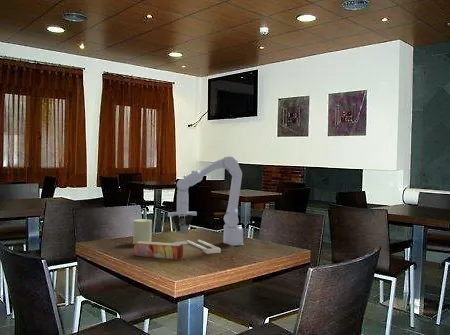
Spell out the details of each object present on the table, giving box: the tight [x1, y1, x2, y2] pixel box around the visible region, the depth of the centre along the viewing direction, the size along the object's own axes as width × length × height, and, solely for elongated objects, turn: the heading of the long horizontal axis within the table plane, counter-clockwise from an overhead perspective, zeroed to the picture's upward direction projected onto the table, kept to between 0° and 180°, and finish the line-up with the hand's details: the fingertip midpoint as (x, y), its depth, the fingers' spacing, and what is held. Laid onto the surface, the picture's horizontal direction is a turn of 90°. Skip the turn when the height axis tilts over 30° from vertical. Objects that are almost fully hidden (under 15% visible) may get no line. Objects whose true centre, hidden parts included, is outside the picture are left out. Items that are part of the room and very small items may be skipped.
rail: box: [186, 239, 222, 255], centre depth 203 cm, size 7×24×2 cm, turn 27°
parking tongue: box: [172, 240, 189, 245], centre depth 211 cm, size 7×7×1 cm
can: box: [132, 218, 153, 245], centre depth 212 cm, size 9×9×12 cm
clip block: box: [175, 222, 189, 235], centre depth 211 cm, size 4×5×5 cm
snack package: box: [133, 241, 184, 261], centre depth 181 cm, size 21×7×7 cm, turn 70°
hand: (182, 230), depth 211 cm, fingers closed on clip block, 4 cm apart
